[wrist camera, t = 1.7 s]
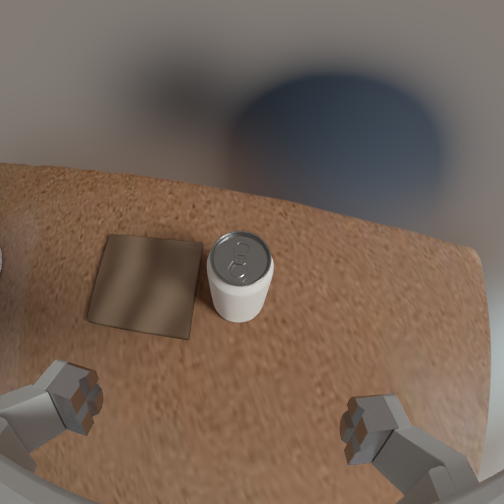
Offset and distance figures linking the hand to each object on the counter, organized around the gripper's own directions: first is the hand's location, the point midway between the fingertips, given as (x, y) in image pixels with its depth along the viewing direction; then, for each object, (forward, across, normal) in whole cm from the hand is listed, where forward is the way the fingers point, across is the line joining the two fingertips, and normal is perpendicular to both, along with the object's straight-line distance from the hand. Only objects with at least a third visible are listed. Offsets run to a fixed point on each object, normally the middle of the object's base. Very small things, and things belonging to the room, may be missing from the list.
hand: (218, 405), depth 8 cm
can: (+28, 0, +10) cm, 29 cm away
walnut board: (+28, +13, +10) cm, 32 cm away
